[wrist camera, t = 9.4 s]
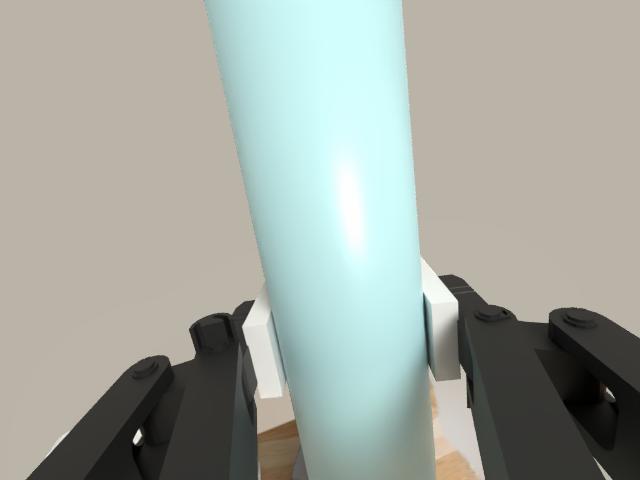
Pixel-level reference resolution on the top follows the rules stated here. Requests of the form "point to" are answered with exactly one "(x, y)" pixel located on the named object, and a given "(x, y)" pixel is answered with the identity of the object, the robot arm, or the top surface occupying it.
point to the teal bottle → (335, 222)
